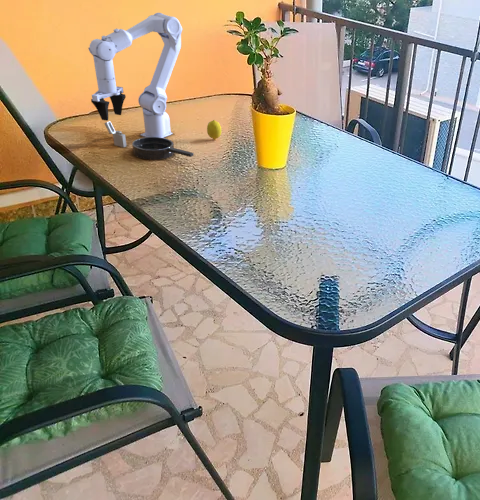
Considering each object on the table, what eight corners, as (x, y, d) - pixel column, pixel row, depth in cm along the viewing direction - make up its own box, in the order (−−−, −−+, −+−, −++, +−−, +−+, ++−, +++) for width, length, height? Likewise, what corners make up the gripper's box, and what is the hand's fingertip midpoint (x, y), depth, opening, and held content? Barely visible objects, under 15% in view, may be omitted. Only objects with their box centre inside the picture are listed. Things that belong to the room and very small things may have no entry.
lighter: (126, 146, 169) (124, 124, 165) (123, 147, 168) (120, 125, 164) (110, 141, 171) (107, 120, 167) (107, 143, 169) (103, 121, 165)
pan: (150, 143, 174) (149, 134, 172) (181, 151, 171) (181, 142, 169) (124, 154, 163) (123, 144, 161) (157, 163, 160) (156, 153, 158)
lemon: (223, 138, 188) (223, 119, 184) (218, 143, 183) (218, 123, 179) (210, 136, 188) (209, 117, 184) (205, 140, 183) (204, 120, 179)
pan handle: (171, 149, 165) (171, 147, 164) (193, 155, 163) (193, 152, 163) (168, 151, 163) (168, 148, 163) (190, 157, 162) (190, 154, 161)
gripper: (103, 83, 152) (109, 124, 159) (129, 76, 165) (133, 114, 172) (83, 80, 153) (90, 120, 160) (110, 72, 165) (116, 110, 172)
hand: (111, 117), depth 166 cm, fingers open, 7 cm apart
